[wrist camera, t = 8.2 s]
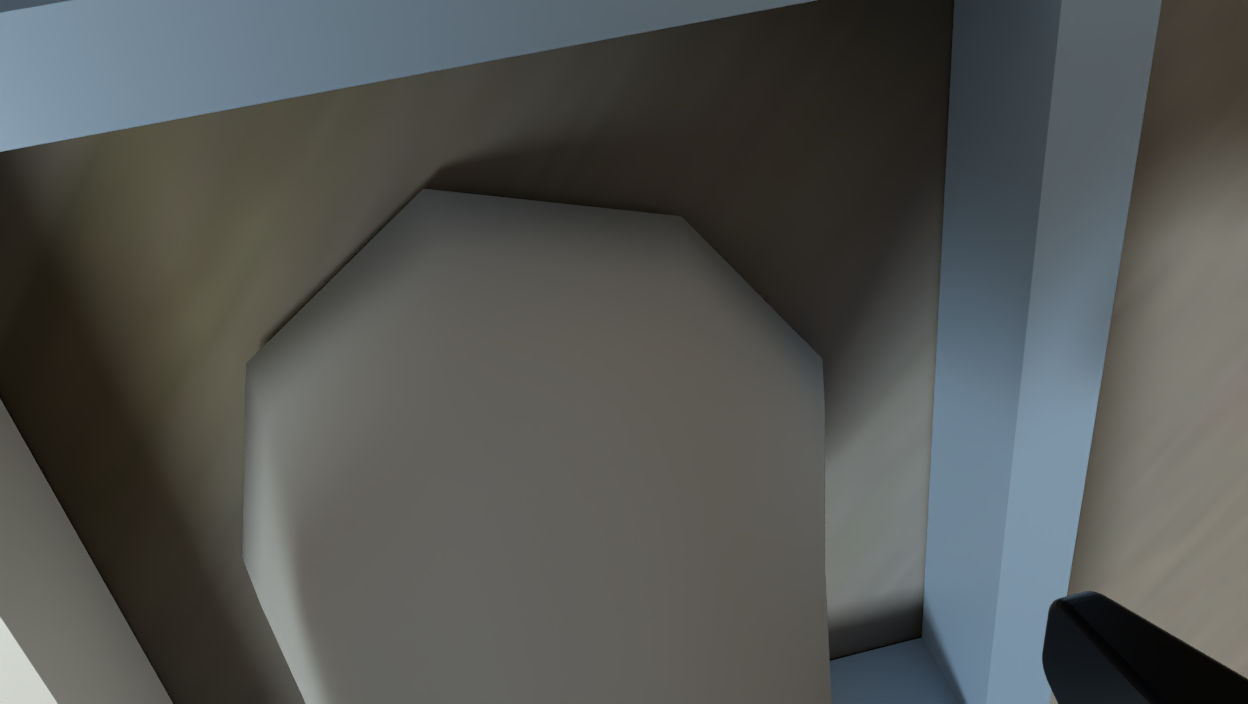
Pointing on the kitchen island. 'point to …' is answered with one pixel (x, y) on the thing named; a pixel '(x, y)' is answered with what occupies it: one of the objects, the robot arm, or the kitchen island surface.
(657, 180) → the kitchen island surface
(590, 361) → the flask
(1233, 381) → the kitchen island surface
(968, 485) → the duct frame
